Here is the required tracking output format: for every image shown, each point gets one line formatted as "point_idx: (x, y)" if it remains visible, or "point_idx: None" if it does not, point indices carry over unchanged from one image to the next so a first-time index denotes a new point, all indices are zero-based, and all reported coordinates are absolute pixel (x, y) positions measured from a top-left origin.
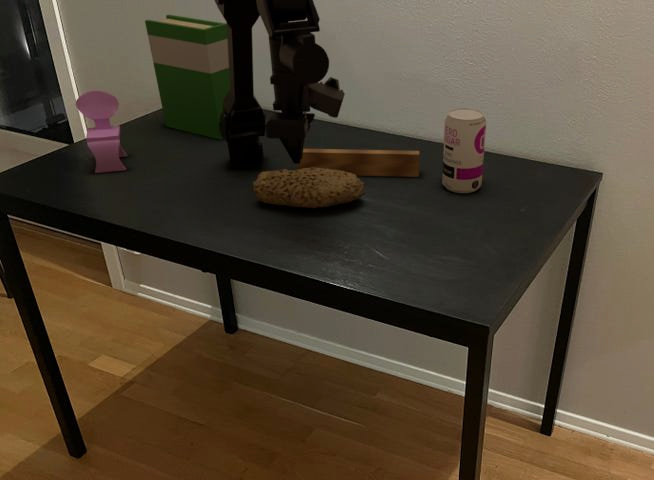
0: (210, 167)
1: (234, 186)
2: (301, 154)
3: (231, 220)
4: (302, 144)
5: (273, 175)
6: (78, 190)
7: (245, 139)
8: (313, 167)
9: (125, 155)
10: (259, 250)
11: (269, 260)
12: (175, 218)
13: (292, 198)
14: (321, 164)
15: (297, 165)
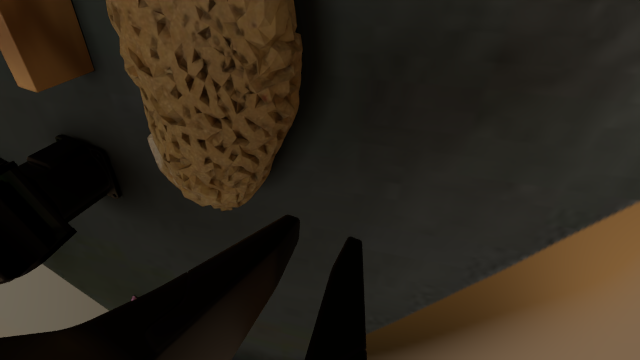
0: (127, 219)
1: (184, 199)
2: (286, 237)
3: (330, 231)
4: (247, 277)
5: (206, 181)
6: (235, 353)
7: (48, 198)
8: (123, 57)
9: (134, 298)
10: (510, 211)
11: (593, 200)
12: (316, 299)
13: (289, 125)
14: (41, 7)
15: (72, 76)
